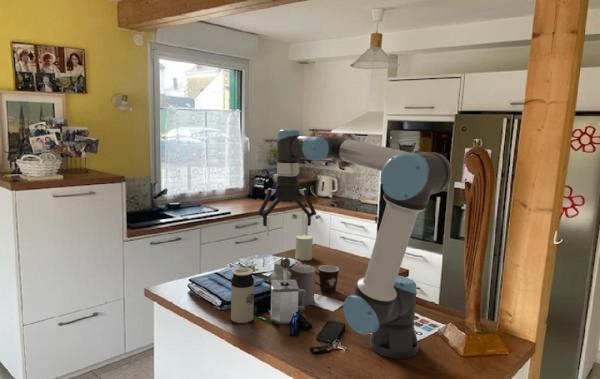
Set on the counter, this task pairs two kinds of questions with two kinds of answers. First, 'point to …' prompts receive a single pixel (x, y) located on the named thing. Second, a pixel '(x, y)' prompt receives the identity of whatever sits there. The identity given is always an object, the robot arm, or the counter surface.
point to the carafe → (285, 301)
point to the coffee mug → (328, 278)
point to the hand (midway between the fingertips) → (286, 234)
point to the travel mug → (242, 295)
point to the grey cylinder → (304, 282)
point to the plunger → (285, 269)
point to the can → (304, 247)
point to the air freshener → (278, 272)
